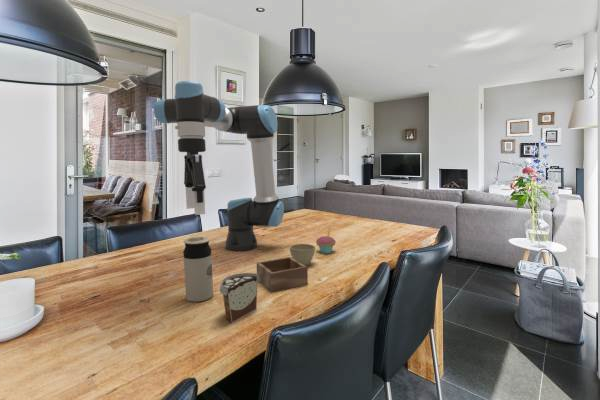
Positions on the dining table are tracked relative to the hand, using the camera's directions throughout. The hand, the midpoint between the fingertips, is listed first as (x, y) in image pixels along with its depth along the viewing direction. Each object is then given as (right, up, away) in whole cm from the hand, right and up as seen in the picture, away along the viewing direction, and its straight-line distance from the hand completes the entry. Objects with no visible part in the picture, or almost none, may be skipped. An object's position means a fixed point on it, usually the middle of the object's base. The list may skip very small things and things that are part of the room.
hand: (195, 211), depth 97 cm
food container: (+14, -28, -8) cm, 32 cm away
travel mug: (0, -27, +3) cm, 27 cm away
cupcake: (+42, -20, +50) cm, 68 cm away
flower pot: (+32, -22, +33) cm, 51 cm away
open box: (+25, -25, +15) cm, 38 cm away
